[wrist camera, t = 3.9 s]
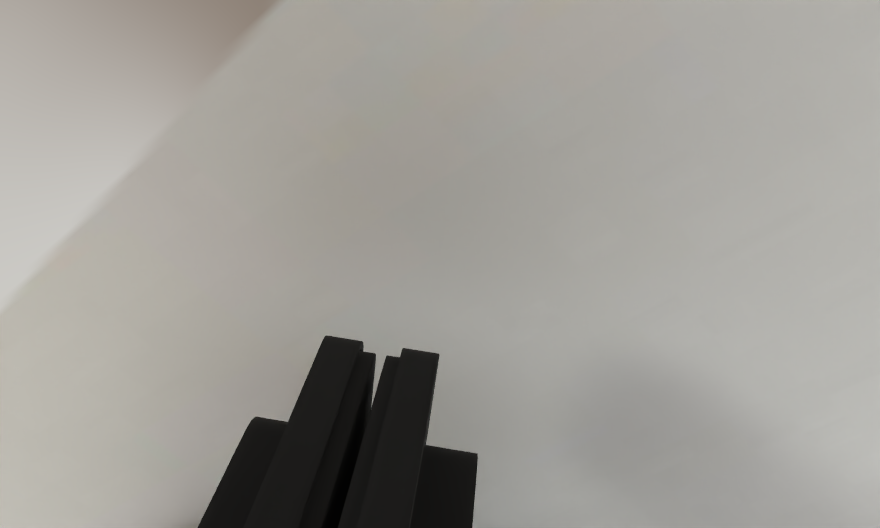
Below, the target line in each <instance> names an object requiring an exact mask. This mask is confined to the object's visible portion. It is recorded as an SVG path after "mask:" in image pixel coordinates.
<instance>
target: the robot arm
mask: <svg viewBox="0 0 880 528" xmlns="http://www.w3.org/2000/svg"><path fill="white" fill-rule="evenodd" d="M375 361H376V354H375V353H368V352H363V342H362V341H357V340H351V339H345V338H338V337H332V336H325V337H324V339H323V341H322V343H321V345H320V348H319V350H318V353H317V355H316V357H315V360H314V362H313V364H312V367H311V369H310V371H309V374H308V376H307V379H306V381H305V383H304V386H303V388H302V390H301V393H300V395H299V397H298V400H297V402H296V404H295V407H294V409H293V412H292V414H291V416H290V419H289V421H288V422H284V421H278V420H272V419H266V418H260V417H255V418H254V419H252V420H251V422H250V424H249V425H248V427H247V429H246V431H245V433H244V435H243V437H242V439H241V441H240V443H239V445H238V447H237V449H236V451H235V453H234V455H233V457H232V459H231V461H230V463H229V465H228V467H227V469H226V471H225V473H224V475H223V477H222V479H221V481H220V483H219V485H218V487H217V489H216V492H215V494H214V496H213V498H212V500H211V502H210V504H209V506H208V508H207V510H206V512H205V514H204V516H203V518H202V520H201V522H200V524H199V526H198V528H472V523H473V510H474V498H475V486H476V473H477V459H478V457H477V454H476V453H470V452H464V451H458V450H452V449H446V448H440V447H434V446H428V445H426V440H427V434H428V427H429V420H430V414H431V407H432V400H433V394H434V387H435V381H436V374H437V367H438V361H439V354H437V353H431V352H425V351H418V350H412V349H406V348H403V349H402V352H401V356H400V358H399V357H393V356H386V359H385V362H384V366H383V369H382V373H381V376H380V380H379V383H378V387H377V390H376V394H375V398H374V401H373V405H372V408H371V403H372V393H373V382H374V372H375Z"/></svg>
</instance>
